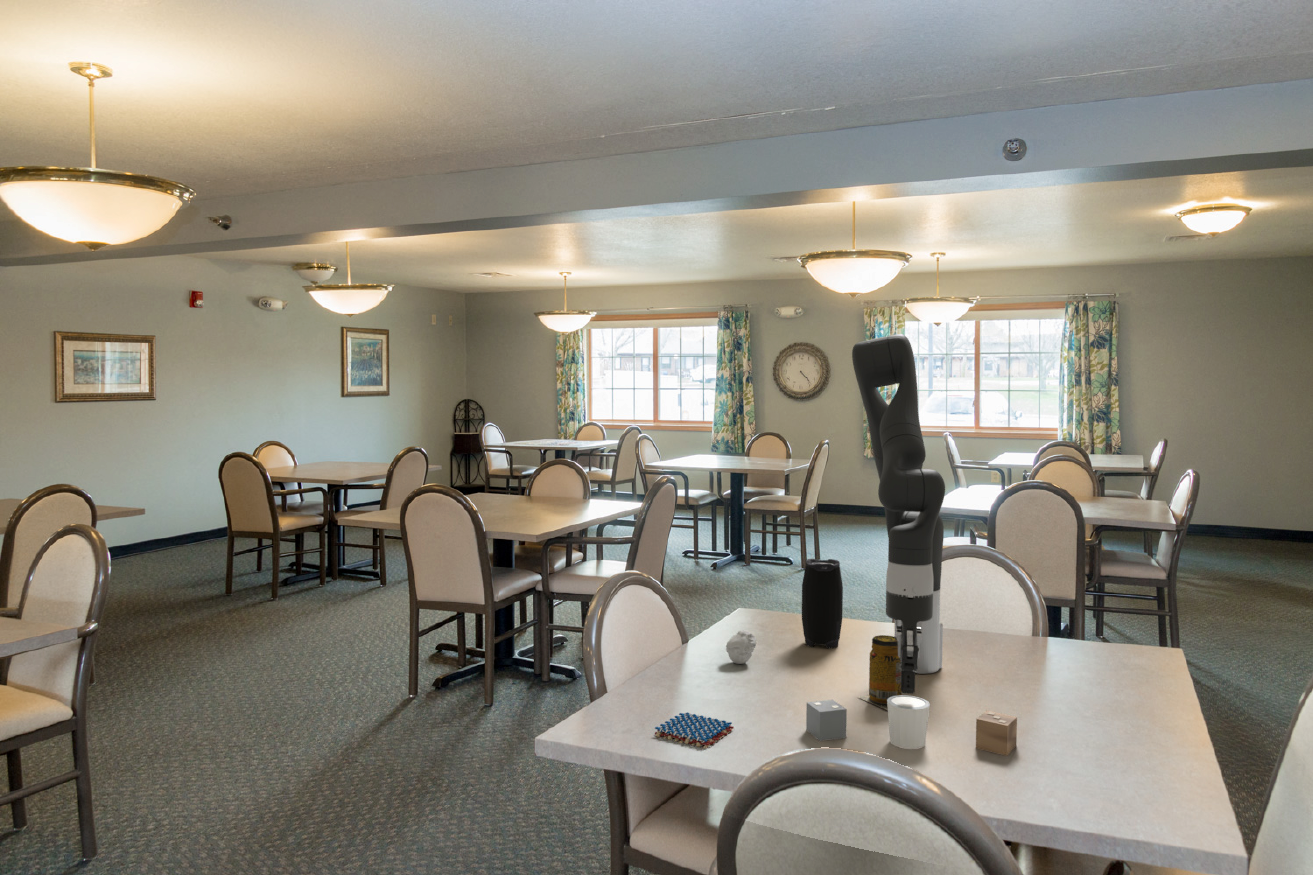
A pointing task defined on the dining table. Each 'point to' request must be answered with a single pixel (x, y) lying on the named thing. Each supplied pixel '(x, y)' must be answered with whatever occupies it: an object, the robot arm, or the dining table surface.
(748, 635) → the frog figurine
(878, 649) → the condiment
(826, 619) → the portable speaker
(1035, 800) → the dining table surface
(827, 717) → the slate dotted block
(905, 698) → the shot glass
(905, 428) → the robot arm
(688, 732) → the woven mat
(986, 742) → the walnut dotted block
